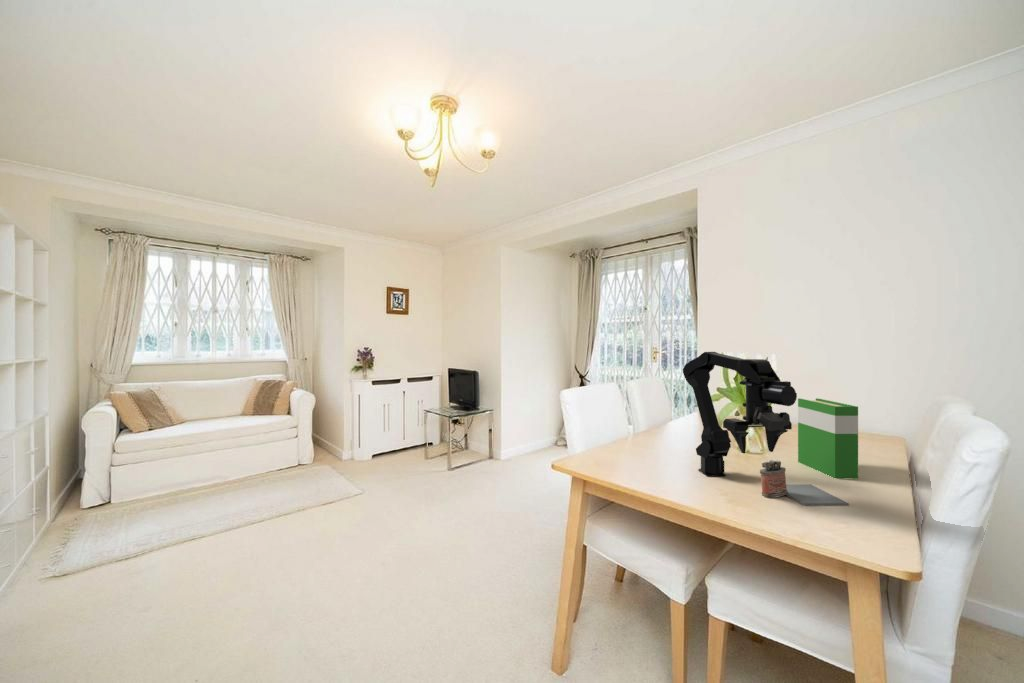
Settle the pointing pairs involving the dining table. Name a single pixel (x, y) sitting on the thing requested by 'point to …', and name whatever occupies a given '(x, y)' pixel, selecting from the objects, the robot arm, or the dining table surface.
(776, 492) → the lighter
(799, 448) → the hardback book
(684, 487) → the dining table surface
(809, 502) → the mat
